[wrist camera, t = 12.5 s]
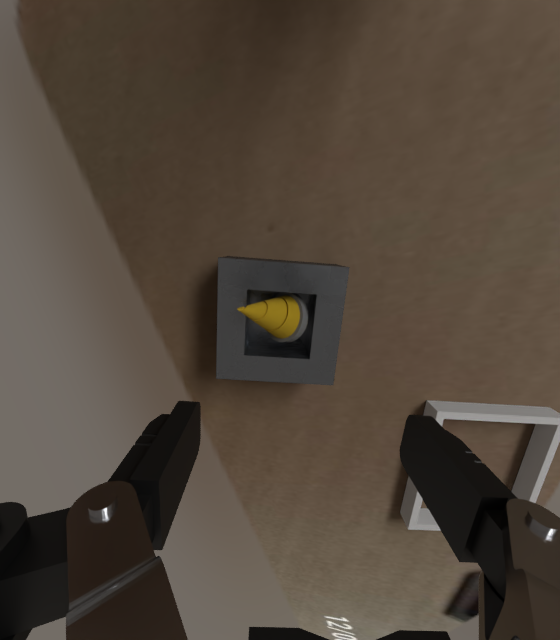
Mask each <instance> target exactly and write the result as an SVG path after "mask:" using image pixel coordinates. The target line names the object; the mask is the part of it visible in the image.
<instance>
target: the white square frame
mask: <svg viewBox="0 0 560 640" xmlns="http://www.w3.org/2000/svg"><path fill="white" fill-rule="evenodd" d="M423 415H425V416H432V417H433V418H434V419H435V420H436V421H437V422H438V423H439V424H440V425H441V426H442V424H443V420H444V419H457V420H475V421H494V422H513V423H532V424H536V425H535V427H534V430H533V433H532V436H531V438H530V441H529V444H528V447H527V449H526V452H525V455H524V458H523V461H522V463H521V466H520V469H519V472H518V474H517V477H516V480H515V483H514V485H513V488H512V491H511V492H512V493H513V494H514V495H515V496H516V497H517V498H518V499H524V500H527V501H531V502H533V503H535V502H536V500H537V497H538V495H539V492H540V490H541V487H542V485H543V482H544V480H545V477H546V474H547V472H548V469H549V467H550V464H551V462H552V459H553V457H554V454H555V452H556V449H557V447H558V444H559V442H560V413H558V412H556V411H555V410H553V409H551V408H549V407H536V406H518V405H500V404H482V403H464V402H446V401H429V400H427V401H426V405H425V409H424V414H423ZM422 500H423V499H422V497H421V496H420V494H419V492H418V491H417V489H416V487H415V486H414V484H413V482H412V480H411V479H410V477H408V481H407V485H406V489H405V493H404V498H403V502H402V506H401V510H400V514H401V516H402V518H403V520H404V522H405V524H406V526H407V528H408V529H410V530H438V531H441V530H440V528H439V526H438V525H437V523H436V521H435V519H434V518H433V516H432V514H431V513H430V511H429V509H428V508H421V504H422Z"/></svg>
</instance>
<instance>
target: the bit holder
mask: <svg viewBox="0 0 560 640" xmlns="http://www.w3.org/2000/svg"><path fill="white" fill-rule="evenodd" d="M348 274H349V267H345V266H341V265H337V264H324V263H311V262H298V261H285V260H272V259H258V258H245V257H232V256H226V257H218V301H217V361H216V379H233V380H250V381H268V382H285V383H303V384H320V385H333V382H334V375H335V368H336V361H337V353H338V346H339V339H340V332H341V324H342V317H343V310H344V303H345V295H346V288H347V281H348ZM282 292H289V293H293V294H296V295H298V296H300V297H301V298H302V299H303V300H304V302H305V304H306V306H307V309H308V323H307V326H306V329H305V331H304V332H303V334H302V335H301V336H300V337H299V338H298V339H297V340H295V341H293V342H278V341H276V340H274V339H272V338H271V337H270V335H269V334H268V332H267V330H265V329H264V328H262V327H261V326H259V325H258V324H257V323H255V322H254V321H252V320H251V319H250V318H248V317H247V316H245V315H244V314H243V313H241V312H240V311H238V310H237V308H240V307H243V306H244V307H246V306H247V305H250V304H254V303H258V302H261V301H265V300H268V299H272V298H273V297H274V296H276V295H277V294H279V293H282Z"/></svg>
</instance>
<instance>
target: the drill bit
mask: <svg viewBox="0 0 560 640" xmlns="http://www.w3.org/2000/svg"><path fill="white" fill-rule="evenodd" d="M237 310H238V311H240V312H241V313H243V314H244V315H245V316H247V317H248V318H250V319H251V320H252V321H254V322H255V323H257V324H258V325H259V326H261V327H262V328H264V329H265V330H267V332H268V334H269V335H270V337H271V338H272V339H274V340H276V341H278V342H293V341H295V340H297V339H298V338H299V337H300V336H301V335H302V334H303V332H304V331H305V329H306V326H307V323H308V309H307V306H306V304H305V302H304V300H303V299H302V298H301V297H300V296H298V295H296V294H293V293H289V292H282V293H279V294H277V295H276V296H274V297H273V298H272V299H268V300H265V301H261V302H258V303H254V304H250V305H247V306H246V307H244V306H243V307H240V308H237Z"/></svg>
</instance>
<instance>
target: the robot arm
mask: <svg viewBox="0 0 560 640" xmlns="http://www.w3.org/2000/svg"><path fill="white" fill-rule="evenodd" d="M199 445H200V402H190V401H178V403H177V404H176V406H175V407H174V409H173V411H172V412H171V414H162V415H160V416H158V417H157V418H156V419H154V420H153V421H151V422H150V423H149V424H148V426H147V427H146V429H145V430H144V431H143V433H142V436H140V437H139V438H138V440H137V441H136V443H135V445H133V447H132V448H131V450H130V451H129V453H128V454H127V455H126V457H125V458H124V459H123V461H122V462H121V464H120V465H119V466H118V468H117V469H116V471H115V472H114V473H113V475H112V476H111V478H110V479H109V480H108V482H106V483H103V484H100V485H98V486H96V487H93V488H92V489H90V490H88V491H87V492H86V493H84V494H83V495H82V496H81V497H79V498H78V499H77V500H76V502H74V504H73V505H72V506H71V507H70V508H67V509H63V510H59V511H55V512H51V513H46V514H42V515H37V516H33V517H29V518H28V517H27V512H26V509H25V507H24V506H23V505H21V504H19V503H16V502H6V503H0V640H26V638H27V637H28V635H29V633H30V632H31V630H32V628H35V627H37V626H40V625H43V624H46V623H49V622H52V621H54V620H57V619H60V618H63V617H66V640H187V636H186V633H185V630H184V626H183V623H182V620H181V617H180V614H179V611H178V608H177V605H176V602H175V598H174V595H173V592H172V589H171V586H170V583H169V580H168V577H167V573H166V571H165V567H164V564H163V562H162V560H161V558H160V557H159V556H158V557H156V556H155V553H154V550H162V549H163V546H164V544H165V541H166V538H167V536H168V533H169V530H170V528H171V525H172V522H173V519H174V516H175V514H176V511H177V509H178V506H179V503H180V501H181V498H182V495H183V492H184V490H185V487H186V484H187V482H188V479H189V476H190V474H191V471H192V468H193V465H194V462H195V460H196V457H197V454H198V451H199ZM400 458H401V462H402V465H403V467H404V469H405V470H406V472H407V474H408V475H409V477H410V479H411V480H412V482H413V484H414V486H415V487H416V489H417V491H418V492H419V494H420V496H421V497H422V499H423V501H424V502H425V504H426V506H427V508H428V509H429V511H430V513H431V514H432V516H433V518H434V519H435V521H436V523H437V525H438V526H439V528H440V530H441V531H442V533H443V535H444V536H445V538H446V540H447V541H448V543H449V545H450V547H451V548H452V550H453V552H454V553H455V555H456V557H457V558H458V560H459V562H474V563H478V564H479V566H480V567H481V569H482V571H481V573H480V576H479V640H560V518H559V517H558V516H556V515H555V514H554V513H552V512H550V511H549V510H547V509H546V508H544V507H542V506H540V505H538V504H536V503H533V502H531V501H527V500H524V499H518V498H517V497H516V496H515V495H514V494H513V493H512V492H511V491H510V490H509V489H508V488H507V487H506V486H505V485H504V484H503V483H502V482H501V481H500V480H499V479H498V478H497V477H496V476H495V474H494V473H493V472H492V471H491V470H490V469H489V468H488V467H487V466H486V465H485V464H483V463H482V462H481V460H480V459H479V458H478V457H477V456H476V455H475V454H473V453H472V451H471V450H470V449H469V448H468V447H467V446H466V445H465V444H464V443H463V442H462V441H461V440H460V439H459V438H457V437H456V436H454V435H453V434H451V433H450V432H448V431H447V430H445V429H444V428H443V427H442V426H441V425H440V424H439V423H438V422H437V421H436V420H435V419H434V418H433V417H432V416H425V415H409V416H408V418H407V420H406V425H405V429H404V433H403V438H402V442H401V446H400ZM249 640H329V639H326V638H324V637H321V636H318V635H316V634H313V633H311V632H308V631H305V630H303V629H300V628H275V627H249ZM377 640H450V637H449V635H448V633H447V632H446V631H404V630H399V631H397V632H394V633H392V634H389V635H387V636H384V637H382V638H379V639H377Z"/></svg>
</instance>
